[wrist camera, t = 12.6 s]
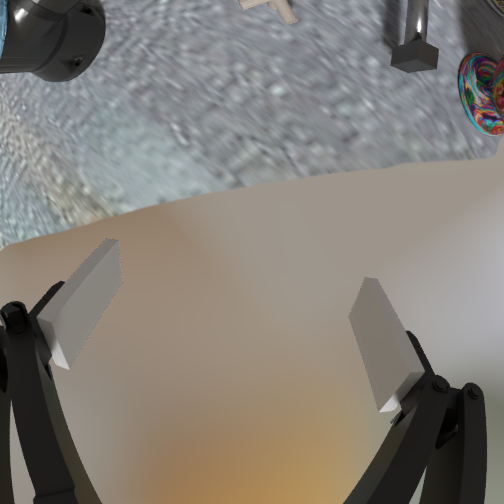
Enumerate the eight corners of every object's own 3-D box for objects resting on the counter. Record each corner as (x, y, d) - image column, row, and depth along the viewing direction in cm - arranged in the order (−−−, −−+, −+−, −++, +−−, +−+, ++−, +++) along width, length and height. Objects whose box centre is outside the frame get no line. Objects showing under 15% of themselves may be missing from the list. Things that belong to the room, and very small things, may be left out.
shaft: (390, 65, 31) (417, 59, 24) (399, -45, 20) (420, -63, 13) (408, 72, 31) (436, 69, 24) (415, -38, 20) (438, -54, 13)
